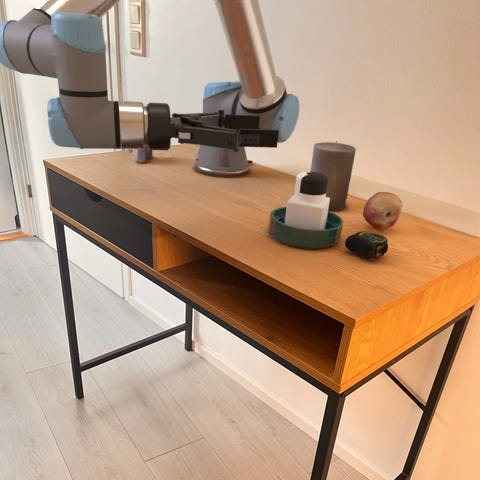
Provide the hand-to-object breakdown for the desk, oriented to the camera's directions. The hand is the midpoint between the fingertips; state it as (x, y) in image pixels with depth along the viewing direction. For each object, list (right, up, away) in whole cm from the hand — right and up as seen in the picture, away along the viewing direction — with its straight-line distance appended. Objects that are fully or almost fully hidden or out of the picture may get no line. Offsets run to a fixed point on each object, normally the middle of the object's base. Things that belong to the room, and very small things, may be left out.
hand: (267, 130), depth 87 cm
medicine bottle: (+8, -16, +12) cm, 22 cm away
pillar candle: (+16, -6, +32) cm, 36 cm away
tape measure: (+19, -22, +6) cm, 29 cm away
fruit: (+25, -14, +20) cm, 35 cm away
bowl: (+8, -17, +12) cm, 22 cm away
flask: (-33, +13, +57) cm, 67 cm away
